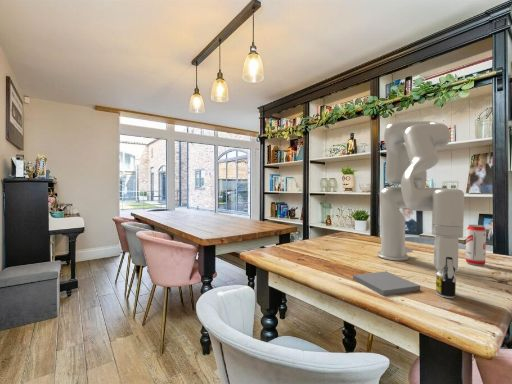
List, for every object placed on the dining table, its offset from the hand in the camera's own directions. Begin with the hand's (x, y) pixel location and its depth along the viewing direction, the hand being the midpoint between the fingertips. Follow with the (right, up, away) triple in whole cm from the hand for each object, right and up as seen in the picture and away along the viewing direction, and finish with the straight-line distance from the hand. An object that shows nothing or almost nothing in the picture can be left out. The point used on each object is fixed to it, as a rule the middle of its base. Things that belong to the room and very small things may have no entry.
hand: (445, 289), depth 79 cm
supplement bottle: (0, -2, 0) cm, 2 cm away
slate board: (-14, -1, +8) cm, 16 cm away
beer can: (+35, -1, +31) cm, 47 cm away
